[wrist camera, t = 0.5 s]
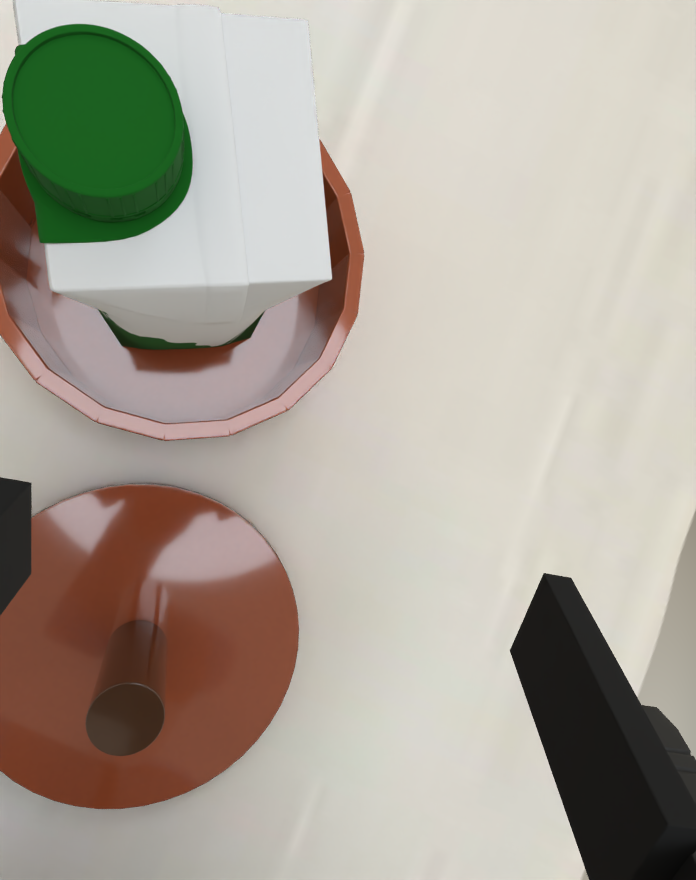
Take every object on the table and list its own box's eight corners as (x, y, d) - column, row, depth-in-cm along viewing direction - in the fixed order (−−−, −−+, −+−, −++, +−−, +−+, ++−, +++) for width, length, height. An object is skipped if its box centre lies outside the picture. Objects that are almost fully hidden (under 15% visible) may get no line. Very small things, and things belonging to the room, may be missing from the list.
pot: (218, 492, 35) (228, 511, 29) (-63, 302, 31) (-126, 273, 24) (384, 264, 37) (428, 234, 31) (143, 56, 33) (135, -31, 27)
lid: (176, 847, 36) (176, 992, 27) (-122, 701, 31) (-239, 818, 22) (352, 589, 38) (405, 644, 29) (98, 417, 33) (70, 421, 25)
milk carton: (85, 200, 32) (-46, -102, 13) (254, 200, 35) (351, -57, 16) (106, 364, 33) (9, 304, 14) (270, 353, 35) (381, 287, 16)
